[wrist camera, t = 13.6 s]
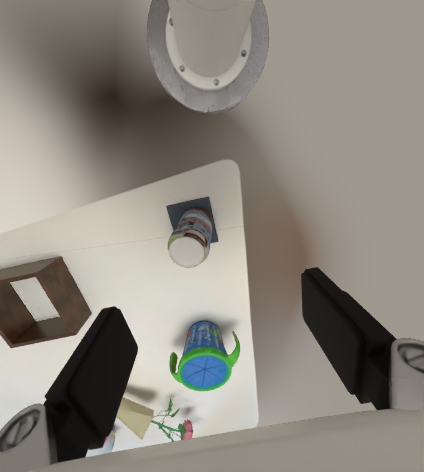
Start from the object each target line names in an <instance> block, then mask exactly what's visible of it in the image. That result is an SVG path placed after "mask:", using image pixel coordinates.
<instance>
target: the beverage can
mask: <svg viewBox="0 0 424 472" xmlns="http://www.w3.org/2000/svg"><path fill="white" fill-rule="evenodd" d="M212 231H213V219H212V216H211V215H210V214H209V212H207V211H206V210H204V209H202V208H191V209H189V210H187V211H186V212H185V213H184V214H183V216H182V218H181V219H180V221H179V223H178V225H177V226H176V228H175V230H174V231H173V233H172V235H171V237H170V238H169V241H168V250H169V254H170V257H171V259H172V260H173V261H174V262H175V263H176V264H178V265H179V266H182V267H186V268H190V267H195V266H197V265H199V264H200V263H201V262H203V261H204V260H205V259H206V258H207V256H208V254H209V249H210V243H211V237H212Z"/></svg>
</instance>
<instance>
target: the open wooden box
mask: <svg viewBox="0 0 424 472" xmlns="http://www.w3.org/2000/svg"><path fill="white" fill-rule="evenodd" d="M32 277H36V278H37V279H38V281H39V283H40V284H41V286H42V287H43V289H44V291H45V292H46V294H47V296H48V297H49V299H50V300H51V302H52V304H53V305H54V307H55V308H56V310H57V312H58V313H59V315H60V317H58V318H53V319H48V320H43V321H39V322H36V321H35V320H34V318H33V317H32V315H31V314H30V313H29V311H28V310H27V308H26V307H25V305H24V304H23V302H22V301H21V299H20V298H19V296H18V295H17V293H16V292H15V291H14V289H13V288H12V286H11V285H10V283H9V282H14V281H18V280H23V279H28V278H32ZM91 314H92V313H91V311H90V309H89V307H88V305H87V303H86V302H85V300H84V298H83V296H82V294H81V292H80V291H79V289H78V287H77V285H76V283H75V281H74V279H73V278H72V276H71V274H70V272H69V270H68V268H67V267H66V265H65V263H64V261H63V259H62V257H57V258H52V259H47V260H43V261H38V262H34V263H29V264H24V265H20V266H15V267H11V268H6V269H1V270H0V335H1V336H2V338H3V339H4V340H5V341H6V343H7V344H8V345H9V346H10V348H14V347H19V346H24V345H29V344H34V343H39V342H44V341H49V340H54V339H59V338H63V337H68V336H73V335H76V334H77V333H78V332H79V330H80V329H81V327H82V326H83V325H84V323H85V322H86V321H87V319H88V318H89V316H90V315H91Z"/></svg>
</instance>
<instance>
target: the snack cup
mask: <svg viewBox="0 0 424 472" xmlns="http://www.w3.org/2000/svg"><path fill="white" fill-rule="evenodd" d="M233 335H234V338H235V341H236V348H235V349H234V351H233V352H232V354H230V355H227V352H226V350H225V348H224V345H223V341H222V338H221V334H220V331H219V329H218V327H216V326H215V325H214V324H213V323H210V322H207V321H203V322H199V323H196V324H195V325H193V326H192V327H191V328H190V330H189V332H188V335H187V339H186V343H185V347H184V351H183V356H182V358H181V360H180V362H179V366H178V372H177V373H175V371H176V364H177V355H176V354H175V353H174V352H173V353H172V354H171V356H170V372H171V374H172V375H173V377H174V378H175V379H176V380H177V381H178V382H180V383H182V384H183V385H185V386H186V387H188V388H190V389H192V390H196V391H210V390H214V389H217V388H219V387H221V386H222V385H224V384H225V383H226V382H227V381H228V379H229V378H230V376H231V369H232V367H233V365H234V364H235V363H236V362H237V359H238V357H239V353H240V343H239V341H238V338H237V336H236V334H235V333H234V331H233Z"/></svg>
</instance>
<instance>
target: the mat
mask: <svg viewBox="0 0 424 472" xmlns="http://www.w3.org/2000/svg"><path fill="white" fill-rule="evenodd" d="M166 207H167V210H168V214H169V217H170V220H171V224H172V227H173V230H175V228H176V226H177V225H178V223H179V221H180V219H181V218H182V216H183V214H184V213H185V212H186V211H187V210H189V209H191V208H202V209H204V210H206V211H207V212H209V214H210V215H211V216H212V219H213V215H212V210H211V205H210V201H209V197H205V198H201V199H196V200H192V201H187V202H183V203H178V204H174V205H169V206H166ZM213 242H218V238H217V233H216V228H215V224H214V219H213V231H212V237H211V243H213Z"/></svg>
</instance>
